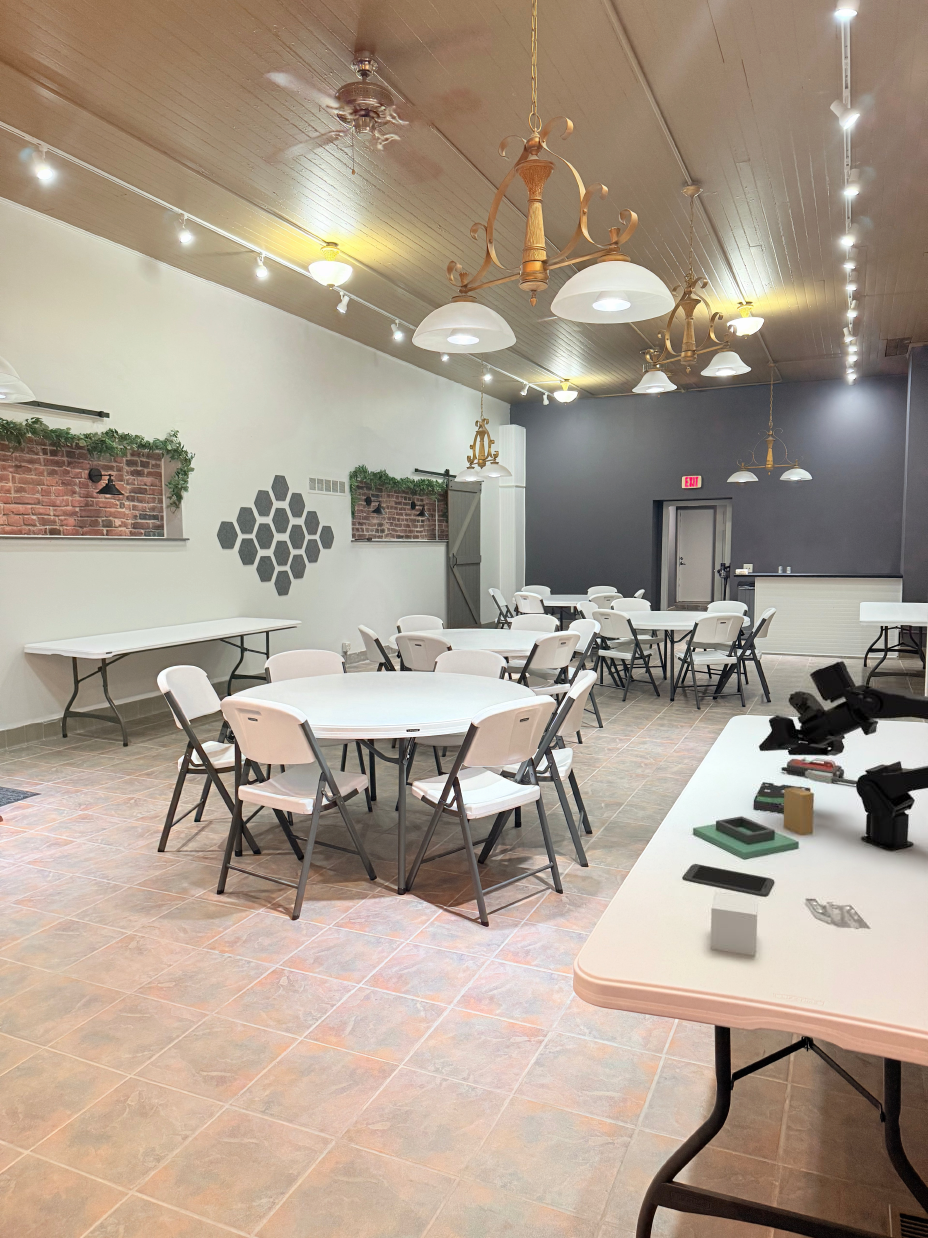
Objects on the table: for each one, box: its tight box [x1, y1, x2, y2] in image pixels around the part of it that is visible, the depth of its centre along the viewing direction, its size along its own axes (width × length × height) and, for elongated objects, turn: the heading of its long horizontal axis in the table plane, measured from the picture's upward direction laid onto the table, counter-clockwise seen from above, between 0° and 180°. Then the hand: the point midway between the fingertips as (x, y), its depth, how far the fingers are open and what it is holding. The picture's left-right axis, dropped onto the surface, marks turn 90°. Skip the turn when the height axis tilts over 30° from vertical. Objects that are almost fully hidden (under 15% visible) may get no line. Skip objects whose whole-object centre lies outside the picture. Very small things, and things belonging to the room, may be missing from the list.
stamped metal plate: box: [805, 898, 871, 930], centre depth 124 cm, size 8×7×2 cm
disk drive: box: [753, 781, 811, 815], centre depth 177 cm, size 10×3×15 cm
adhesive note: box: [710, 890, 759, 957], centre depth 116 cm, size 6×6×6 cm
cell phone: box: [682, 863, 775, 898], centre depth 137 cm, size 7×14×1 cm, turn 59°
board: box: [692, 815, 800, 860], centre depth 155 cm, size 14×13×3 cm
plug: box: [782, 786, 815, 836], centre depth 160 cm, size 5×3×8 cm, turn 24°
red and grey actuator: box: [781, 757, 857, 786], centre depth 196 cm, size 9×4×20 cm
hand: (774, 750), depth 171 cm, fingers open, 9 cm apart
